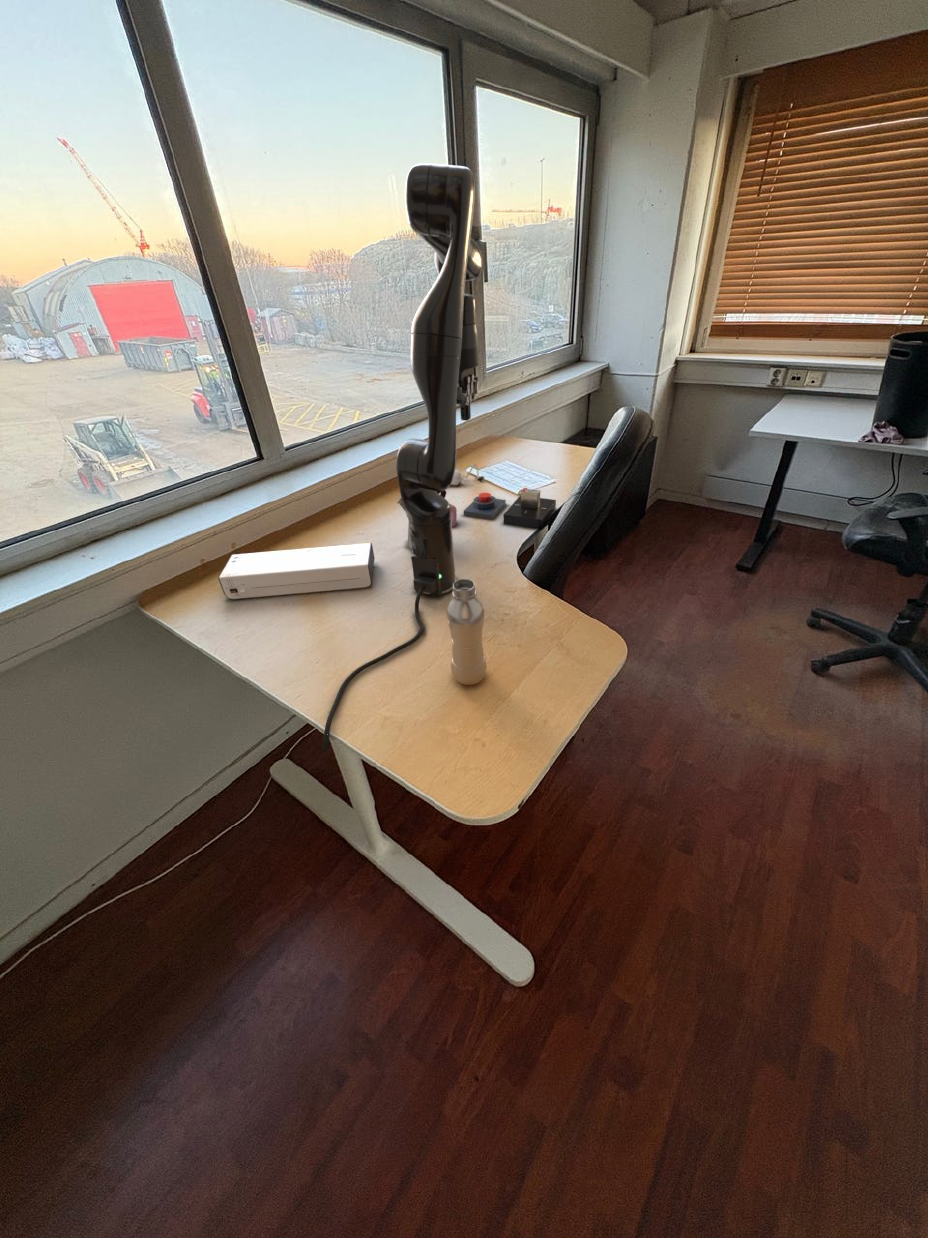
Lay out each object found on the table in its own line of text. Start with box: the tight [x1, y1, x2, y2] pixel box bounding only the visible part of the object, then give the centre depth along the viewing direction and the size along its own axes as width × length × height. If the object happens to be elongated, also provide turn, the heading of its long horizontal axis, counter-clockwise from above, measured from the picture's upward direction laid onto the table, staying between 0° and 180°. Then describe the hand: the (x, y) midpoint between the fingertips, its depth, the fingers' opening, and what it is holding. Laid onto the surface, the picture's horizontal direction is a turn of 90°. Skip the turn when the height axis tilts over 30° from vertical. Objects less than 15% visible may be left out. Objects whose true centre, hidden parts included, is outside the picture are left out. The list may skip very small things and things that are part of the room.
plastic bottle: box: [446, 578, 488, 686], centre depth 86 cm, size 6×7×20 cm
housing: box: [463, 495, 507, 521], centre depth 149 cm, size 11×9×4 cm
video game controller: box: [449, 502, 458, 528], centre depth 143 cm, size 10×5×7 cm, turn 84°
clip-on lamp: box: [450, 463, 485, 486], centre depth 169 cm, size 12×6×18 cm
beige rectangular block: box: [520, 487, 541, 509], centre depth 142 cm, size 5×2×5 cm, turn 65°
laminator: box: [217, 542, 375, 601], centre depth 120 cm, size 34×12×6 cm, turn 95°
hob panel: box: [503, 495, 557, 530], centre depth 144 cm, size 14×11×3 cm
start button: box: [478, 492, 492, 502], centre depth 148 cm, size 4×4×2 cm
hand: (465, 419), depth 132 cm, fingers closed
